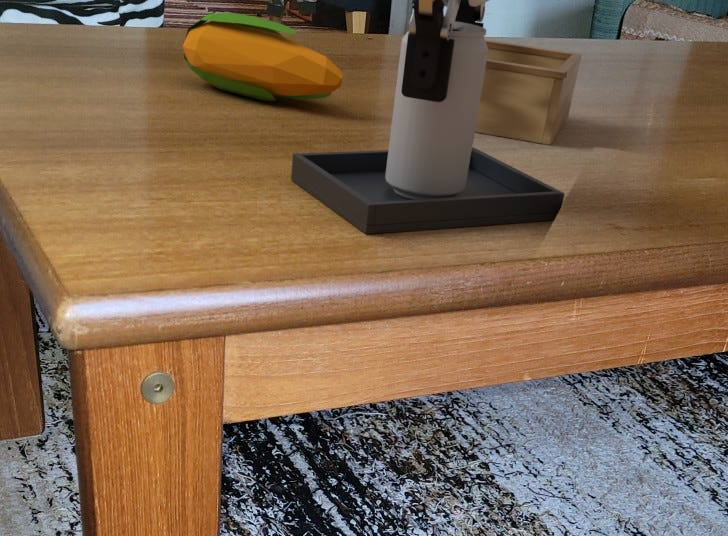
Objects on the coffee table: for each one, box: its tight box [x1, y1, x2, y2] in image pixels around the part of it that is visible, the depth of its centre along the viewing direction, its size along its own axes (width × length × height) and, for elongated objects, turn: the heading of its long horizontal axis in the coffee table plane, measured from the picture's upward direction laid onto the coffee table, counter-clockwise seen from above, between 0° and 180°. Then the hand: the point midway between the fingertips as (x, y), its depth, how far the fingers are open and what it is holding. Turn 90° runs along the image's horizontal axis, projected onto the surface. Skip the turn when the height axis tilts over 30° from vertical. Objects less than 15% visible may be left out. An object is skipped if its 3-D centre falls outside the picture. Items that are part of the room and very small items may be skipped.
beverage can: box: [385, 20, 488, 200], centre depth 75 cm, size 6×6×12 cm
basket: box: [475, 39, 583, 146], centre depth 102 cm, size 13×13×7 cm
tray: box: [290, 146, 565, 235], centre depth 78 cm, size 17×13×2 cm
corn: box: [182, 12, 344, 102], centre depth 101 cm, size 7×8×20 cm
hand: (439, 87), depth 74 cm, fingers open, 9 cm apart
